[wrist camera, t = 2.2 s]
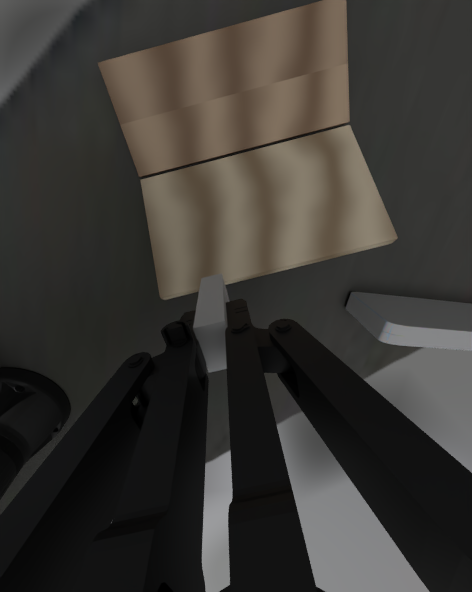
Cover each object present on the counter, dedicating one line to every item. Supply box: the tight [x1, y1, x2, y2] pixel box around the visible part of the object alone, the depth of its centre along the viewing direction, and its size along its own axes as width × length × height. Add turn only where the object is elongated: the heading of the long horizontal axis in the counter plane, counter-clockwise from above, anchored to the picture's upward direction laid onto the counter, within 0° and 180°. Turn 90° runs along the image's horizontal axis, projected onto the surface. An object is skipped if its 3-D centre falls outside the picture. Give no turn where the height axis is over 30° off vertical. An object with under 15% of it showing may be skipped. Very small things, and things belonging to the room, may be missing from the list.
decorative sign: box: [345, 292, 472, 351], centre depth 35 cm, size 32×4×10 cm, turn 82°
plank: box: [141, 125, 398, 300], centre depth 26 cm, size 24×14×1 cm
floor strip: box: [98, 0, 350, 177], centre depth 25 cm, size 24×10×1 cm, turn 103°
